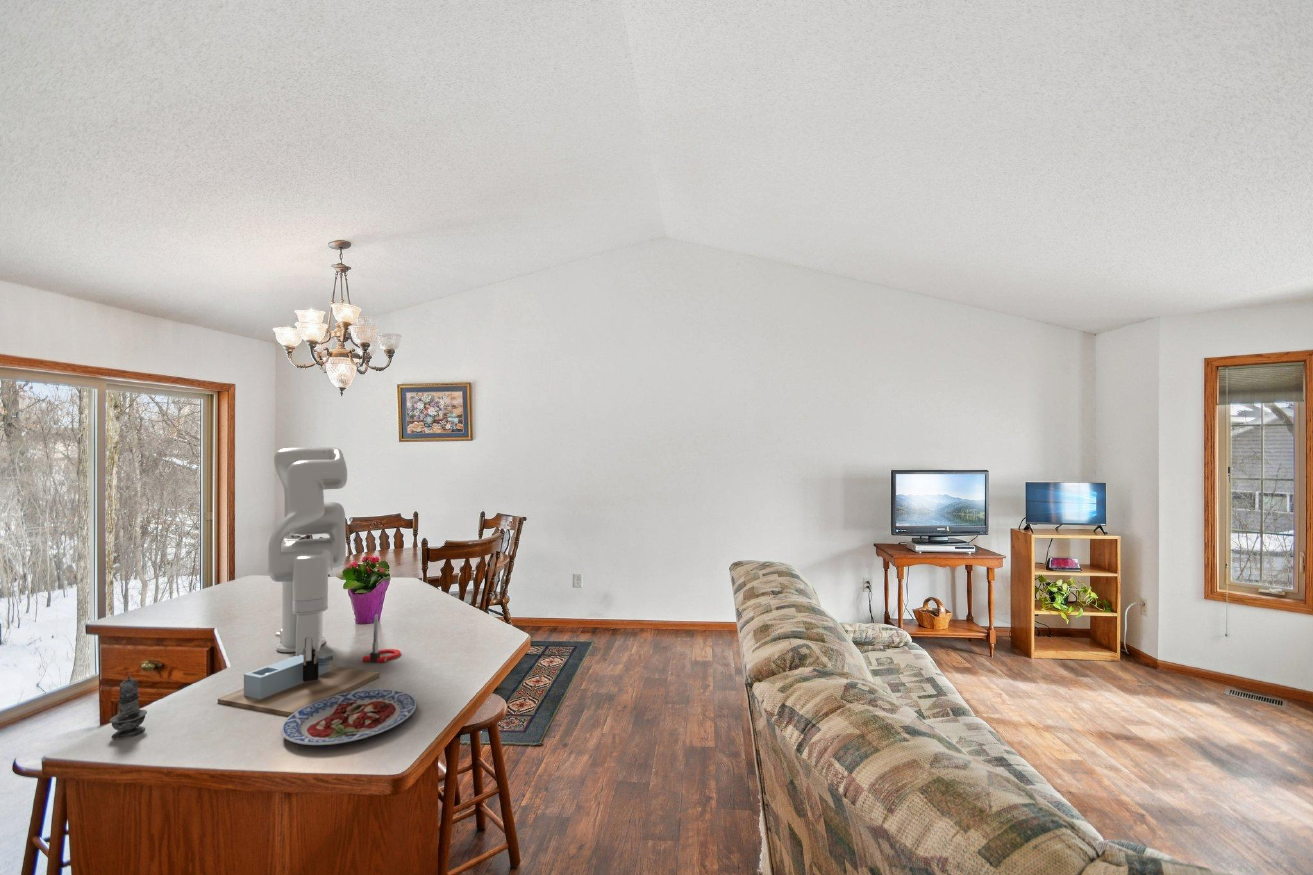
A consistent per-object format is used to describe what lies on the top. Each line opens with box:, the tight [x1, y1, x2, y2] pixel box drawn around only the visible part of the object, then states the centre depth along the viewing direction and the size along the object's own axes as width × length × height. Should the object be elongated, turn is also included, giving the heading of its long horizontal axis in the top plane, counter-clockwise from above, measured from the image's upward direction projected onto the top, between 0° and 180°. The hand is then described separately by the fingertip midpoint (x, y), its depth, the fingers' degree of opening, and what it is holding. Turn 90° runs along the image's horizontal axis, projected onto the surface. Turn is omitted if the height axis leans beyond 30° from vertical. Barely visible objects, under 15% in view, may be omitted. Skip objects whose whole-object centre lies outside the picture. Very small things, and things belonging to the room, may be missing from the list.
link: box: [243, 655, 330, 699], centre depth 146 cm, size 18×6×5 cm, turn 157°
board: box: [217, 665, 380, 717], centre depth 145 cm, size 24×24×1 cm
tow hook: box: [362, 614, 401, 663], centre depth 167 cm, size 8×13×9 cm
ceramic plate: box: [280, 688, 417, 746], centre depth 127 cm, size 26×26×3 cm
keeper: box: [293, 651, 334, 663], centre depth 154 cm, size 10×3×4 cm, turn 71°
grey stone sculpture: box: [109, 674, 148, 740], centre depth 123 cm, size 6×6×12 cm
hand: (310, 679), depth 146 cm, fingers closed
